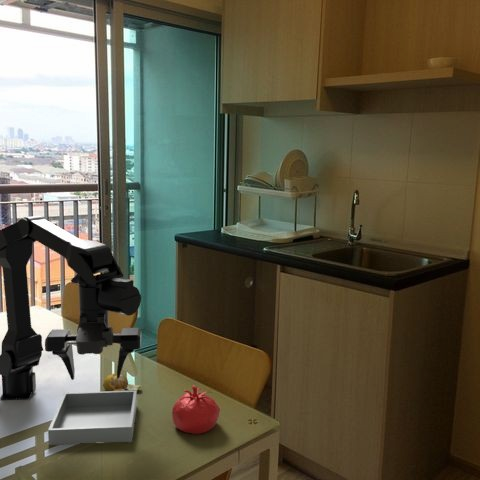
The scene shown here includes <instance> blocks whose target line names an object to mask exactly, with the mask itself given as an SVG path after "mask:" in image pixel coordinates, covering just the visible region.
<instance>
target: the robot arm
mask: <svg viewBox="0 0 480 480" xmlns="http://www.w3.org/2000/svg"><path fill="white" fill-rule="evenodd" d="M36 242H38V243H40V244H41V245H42V246H45V247H46V248H48V249H49V250H51V251H53V252H55V253H57V254H58V255H59V256H61V257H63V258H64V259H65V260H66V265H67V266H68V267H69V268H70V270H72V271H73V272H74V273H76V275H75V276H73V278H71V279H70V282H71V283H73V284H76V285H78V302H79V303H78V307H79V309H78V310H79V311H78V312H79V323H78V326H77V331H76V334H71V330H70V329H69V328H67V329H60V328H59V329H58V328H57V329H52V330H50V332H49V333H48V335H47V336H46V338H45V340H44V347H43V336H42V335H41V333H37V332H36V330H35V329H34V328H33V327H32V320H31V319H32V318H31V307H30V305H31V304H30V298H29V297H30V295H29V282H28V272H27V270H28V269H27V265H28V263H29V261H30V259H31V258H32V256H33V250H34V249H33V248H34V247H33V245H34V243H36ZM0 266H1V268H2V277H3V278H2V279H3V286H4V287H3V288H4V300H5V310H6V322H7V323H6V324H7V331H6V332H5V335H4V337H3V339H2V341H1V354H0V376H1V387H2V394H1V395H0V401H4V400H5V401H7V400H28V399H30V398H31V397H32V395H33V394H34V393H35V390H36V388H37V382H36V372H34V367H37V366H39V365H40V360H41V357H42V355H43V352H44V351H45V352H47V353H49V352H51V353H52V355H53V356H58V357H59V358H61V361H62V362H63V363H64V365H65V368H66V370H67V373H68V375H69V377H70V380H71V381H74V380H75V373H76V371H75V369H76V368H75V361H74V360H75V359H74V352H73V351H74V349H73V345H76V350H77V351H76V352H77V354H78V355H86V354H90V355H91V354H93V355H99V354H102V353H103V352H104V348H107V347H108V346H109V347H111V346H113V345H114V344H120V345H119V350H118V359H117V360H118V361H117V369H116V373H117V378H119V377H120V374H121V373H122V370H123V366H124V364H125V360H126V359H127V357H128V355H129V354H132V353H135V352H134V351H135V350H140V349H141V345H142V330H141V329H140V328H139V327H122V329H121V333H114V329H113V327H112V326H111V327H110V323H109V322H110V321H109V315H110V314H109V312H112V313H117V314H119V315H125V316H132V315H134V314H136V312H138V310H139V308H140V306H141V303H142V295H141V292H140V290H139V289H138V287H136V286H134V280H133V279H123V278H124V274H123V272H122V270H121V267H120V266H119V264H118V262H117V260H116V259H115V257H114V255H113V253H112V251H111V248H110V247H109V245H106V244H105V243H102V242H99V241H95V240H91V239H90V240H88V239H82V238H79V237H77V236H75V235H74V234H73V233H70V232H68V231H67V230H65V229H64V228H63V229H62V228H61V227H59V226H58V225H55V224H54V223H52V222H51V221H48V220H47V218H45V217H44V216H42V215H34V216H26V217H23V218H21V219H19V220H18V221H16V222H14V223H12V224H10V225H8V226H6V227H3V228H0ZM103 272H104V273H103ZM42 351H43V352H42Z"/></svg>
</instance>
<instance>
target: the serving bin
mask: <svg viewBox="0 0 480 480" xmlns="http://www.w3.org/2000/svg"><path fill="white" fill-rule="evenodd" d="M137 392H138V390H125V391H82V392H81V391H79V392H77V391H75V392H63V394H62V397H61V399H60V401H59V404H58V406H57V409H56V410H55V413H54V416H53V417H52V421H51V422H50V425H49V427H48V430H47V431H48V433H47V434H48V435H47V436H48V437H47V438H48V446H60V445H61V446H62V444H68V445H81V444H80V443H96V442H110V443H109V444H112V443H111V442H128V443H133V439H132V438H133V437H134V431H135V424H134V423H135V422H136V415H137V406H138V393H137ZM78 443H79V444H78Z"/></svg>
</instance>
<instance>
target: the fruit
mask: <svg viewBox="0 0 480 480" xmlns="http://www.w3.org/2000/svg"><path fill="white" fill-rule="evenodd" d="M102 386H103V389H104V390H105V391H126V390H131V391H135V390H137V391H139V390H140V389H141V388H142V385H140V384H138V385H136V384H130V383H129V381H128V378H127V377H126V376H125V375H124V374H123V373H122V372H121V374H120V377H119V378H117V372H116V373H115V372H114V373H112V374H109V375H107V376H106V377H105V379H104V380H103V384H102Z"/></svg>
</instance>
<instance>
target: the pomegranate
mask: <svg viewBox="0 0 480 480" xmlns="http://www.w3.org/2000/svg"><path fill="white" fill-rule="evenodd" d="M191 389H192V390H193V392H192V391H190V390H186V389H183V390H182V391H183V392H186V393H184V394H183V395H181V396H180V397H179V398H178V399H177V401H175V403H174V405H173V407H172V412H171V416H172V422H173V425H174V426H175V427H176V428H177V429H178V430H180V431H182V432H184V433H187V434H188V433H189V434H193V435H200V434H203V433H206V432H209V431H210V430H211V429H213V428H214V427H215V426H216V425H217V422H218V420H219V418H220V410H221V409H220V406H219V405H218V404H217V403H216V401H215V400H214V399H213V397H210V396H209V395H207V394H206V393H211V394H212V393H213V391H204V392H199V391H200V390H201V387H198V386H196V385H195V384H194V385H192V386H191Z"/></svg>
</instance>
